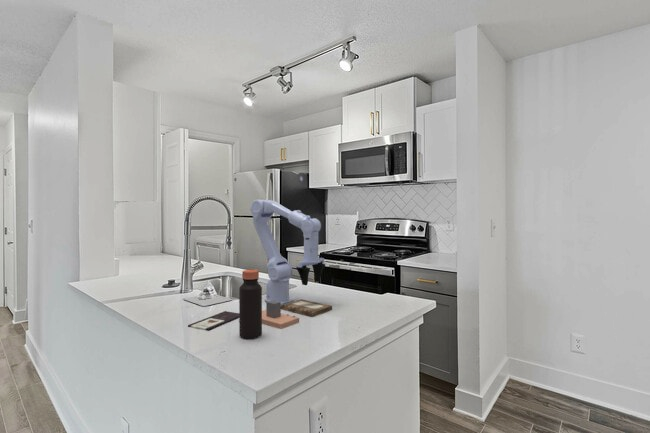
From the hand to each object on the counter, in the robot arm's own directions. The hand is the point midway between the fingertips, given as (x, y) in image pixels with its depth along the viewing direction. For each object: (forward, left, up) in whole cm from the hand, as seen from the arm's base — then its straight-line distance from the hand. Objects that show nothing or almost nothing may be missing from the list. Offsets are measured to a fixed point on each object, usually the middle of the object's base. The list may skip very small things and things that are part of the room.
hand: (311, 283), depth 143 cm
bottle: (+6, -36, -10) cm, 38 cm away
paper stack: (-45, -24, -10) cm, 52 cm away
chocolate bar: (-14, -34, -10) cm, 38 cm away
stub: (+1, -22, -9) cm, 23 cm away
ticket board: (+1, -4, -9) cm, 10 cm away
